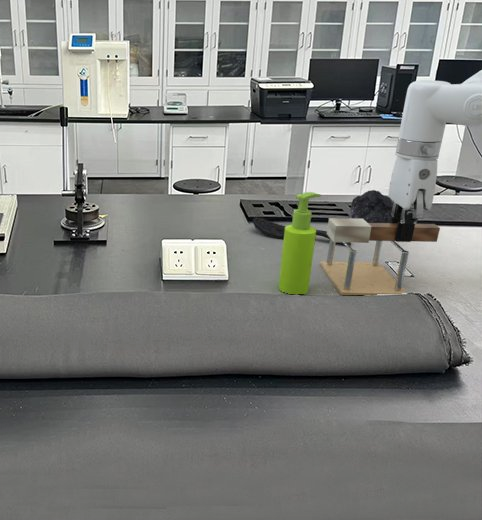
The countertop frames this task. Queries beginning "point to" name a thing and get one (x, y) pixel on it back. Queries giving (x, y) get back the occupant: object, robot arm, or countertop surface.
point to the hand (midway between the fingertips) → (399, 237)
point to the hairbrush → (279, 229)
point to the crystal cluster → (372, 207)
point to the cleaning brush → (375, 231)
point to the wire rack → (364, 273)
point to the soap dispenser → (298, 249)
